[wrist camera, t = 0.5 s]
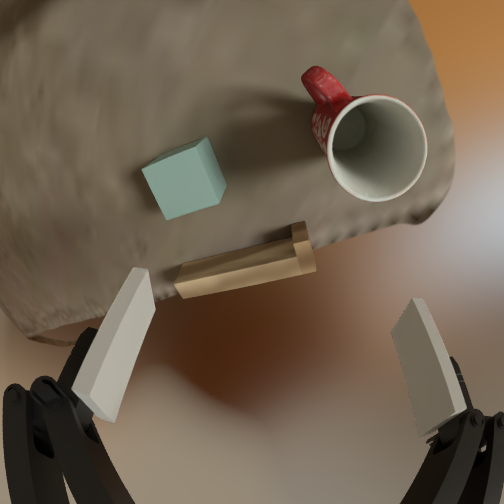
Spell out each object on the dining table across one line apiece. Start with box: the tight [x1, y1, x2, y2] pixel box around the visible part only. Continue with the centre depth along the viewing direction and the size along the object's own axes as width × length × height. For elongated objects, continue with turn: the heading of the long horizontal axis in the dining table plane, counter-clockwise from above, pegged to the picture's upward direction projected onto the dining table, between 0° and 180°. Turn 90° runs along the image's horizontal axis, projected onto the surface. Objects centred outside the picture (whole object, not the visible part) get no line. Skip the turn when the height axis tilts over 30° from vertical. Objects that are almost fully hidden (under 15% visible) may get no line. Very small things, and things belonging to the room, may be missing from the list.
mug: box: [301, 66, 427, 202], centre depth 23 cm, size 13×9×14 cm
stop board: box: [174, 221, 316, 299], centre depth 39 cm, size 5×20×5 cm, turn 108°
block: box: [142, 137, 227, 220], centre depth 32 cm, size 7×7×6 cm
